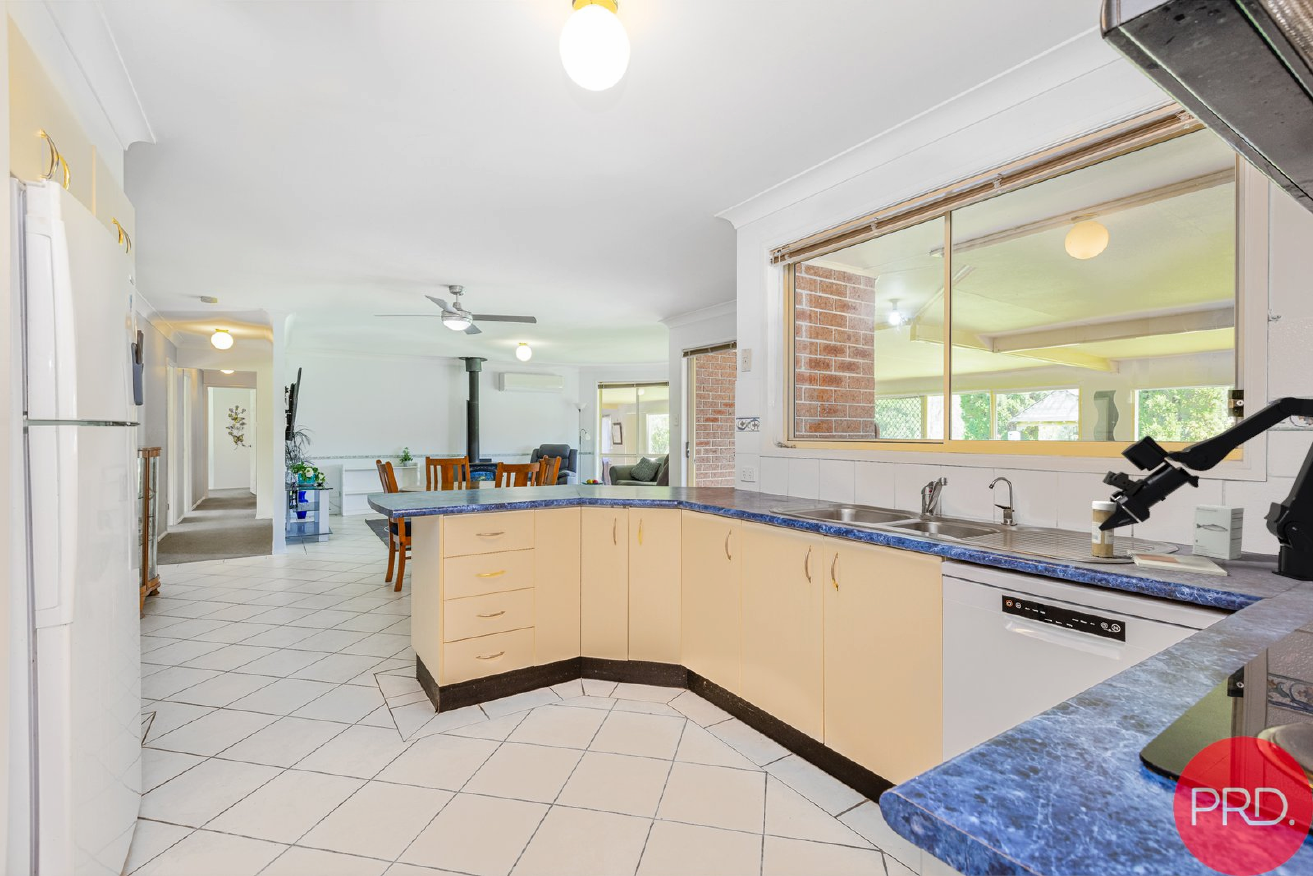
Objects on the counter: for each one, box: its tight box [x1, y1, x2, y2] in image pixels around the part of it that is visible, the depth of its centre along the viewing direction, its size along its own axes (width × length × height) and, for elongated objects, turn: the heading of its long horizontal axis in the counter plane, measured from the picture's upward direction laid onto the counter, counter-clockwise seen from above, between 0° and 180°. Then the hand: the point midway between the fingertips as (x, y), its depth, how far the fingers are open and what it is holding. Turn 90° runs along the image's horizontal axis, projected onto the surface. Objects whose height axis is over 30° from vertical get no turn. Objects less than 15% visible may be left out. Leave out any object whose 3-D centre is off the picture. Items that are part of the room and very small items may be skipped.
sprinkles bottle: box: [1090, 500, 1115, 558], centre depth 147 cm, size 5×5×13 cm
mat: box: [1127, 549, 1228, 577], centre depth 141 cm, size 15×18×1 cm
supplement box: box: [1192, 503, 1245, 561], centre depth 150 cm, size 7×7×13 cm
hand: (1098, 527), depth 148 cm, fingers open, 9 cm apart
